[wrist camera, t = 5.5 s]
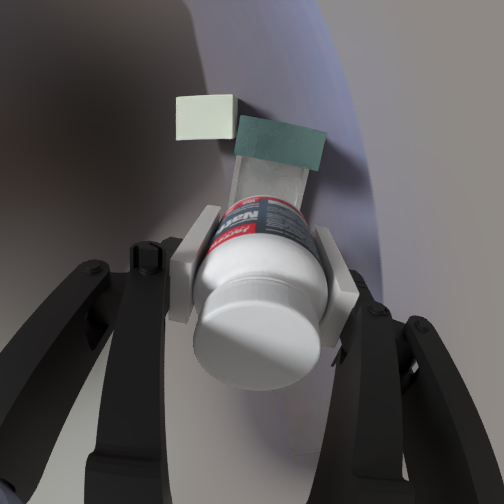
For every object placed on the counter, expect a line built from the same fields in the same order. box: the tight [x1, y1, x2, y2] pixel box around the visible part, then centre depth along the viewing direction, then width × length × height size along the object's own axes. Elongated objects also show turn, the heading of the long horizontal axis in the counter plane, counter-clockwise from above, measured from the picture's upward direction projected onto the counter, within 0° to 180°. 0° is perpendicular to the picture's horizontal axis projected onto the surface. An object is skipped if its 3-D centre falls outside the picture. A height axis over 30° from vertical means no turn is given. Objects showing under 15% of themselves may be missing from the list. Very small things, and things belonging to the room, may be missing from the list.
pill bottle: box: [193, 195, 328, 391], centre depth 12 cm, size 5×5×9 cm
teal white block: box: [228, 115, 327, 211], centre depth 25 cm, size 13×7×7 cm, turn 170°
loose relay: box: [176, 94, 238, 140], centre depth 24 cm, size 4×5×4 cm
